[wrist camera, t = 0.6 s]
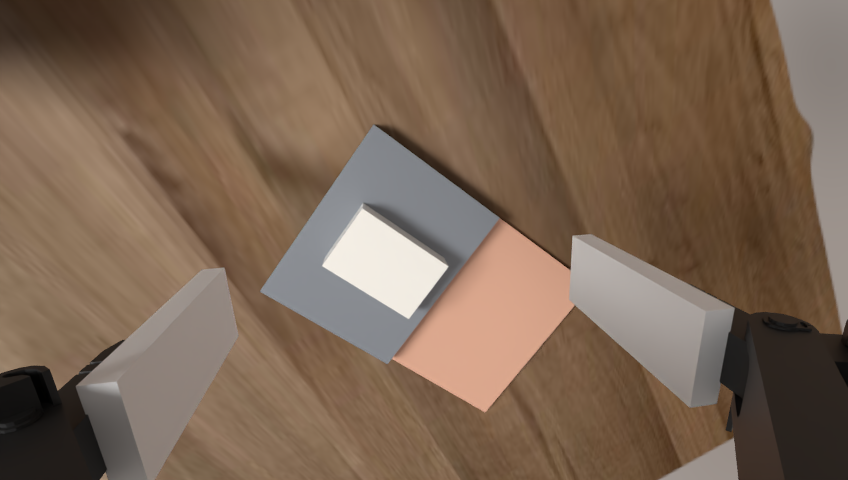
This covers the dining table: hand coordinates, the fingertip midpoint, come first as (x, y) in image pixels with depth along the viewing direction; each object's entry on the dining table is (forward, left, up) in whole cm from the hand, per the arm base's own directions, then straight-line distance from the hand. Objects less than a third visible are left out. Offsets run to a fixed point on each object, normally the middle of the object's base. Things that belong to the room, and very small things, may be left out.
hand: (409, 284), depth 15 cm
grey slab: (+3, -5, -23) cm, 24 cm away
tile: (+3, -5, -21) cm, 22 cm away
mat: (+16, -5, -23) cm, 29 cm away
